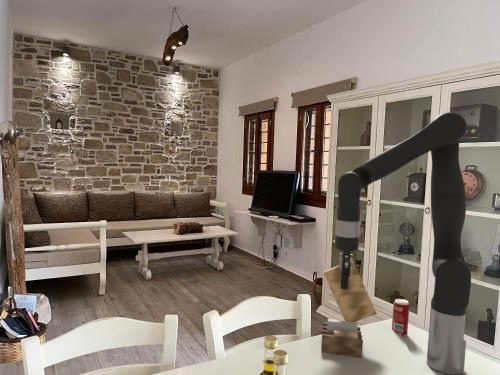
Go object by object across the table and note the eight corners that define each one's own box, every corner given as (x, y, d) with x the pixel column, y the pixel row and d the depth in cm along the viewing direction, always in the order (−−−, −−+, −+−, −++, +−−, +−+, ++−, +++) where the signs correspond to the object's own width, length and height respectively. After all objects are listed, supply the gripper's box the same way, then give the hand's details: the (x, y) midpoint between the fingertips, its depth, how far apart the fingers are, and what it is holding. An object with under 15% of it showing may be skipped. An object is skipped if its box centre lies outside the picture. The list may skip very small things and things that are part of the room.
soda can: (396, 329, 137) (398, 297, 136) (410, 334, 133) (412, 301, 132) (388, 333, 133) (391, 300, 133) (402, 338, 129) (405, 304, 129)
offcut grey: (355, 347, 118) (357, 322, 118) (355, 349, 116) (357, 324, 116) (326, 343, 120) (327, 318, 119) (326, 345, 118) (327, 321, 118)
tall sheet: (376, 311, 119) (352, 259, 120) (376, 314, 117) (352, 261, 118) (346, 322, 121) (323, 271, 122) (346, 324, 119) (323, 272, 120)
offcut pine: (356, 351, 115) (357, 332, 115) (356, 354, 113) (357, 335, 113) (332, 348, 117) (334, 329, 116) (332, 351, 115) (334, 332, 114)
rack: (359, 346, 122) (360, 327, 121) (361, 362, 111) (363, 341, 111) (321, 341, 124) (322, 322, 124) (321, 356, 114) (322, 336, 114)
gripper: (361, 239, 112) (357, 296, 113) (357, 232, 125) (354, 282, 126) (335, 237, 113) (332, 293, 114) (334, 230, 127) (332, 280, 128)
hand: (344, 287), depth 120 cm, fingers closed on tall sheet, 2 cm apart
